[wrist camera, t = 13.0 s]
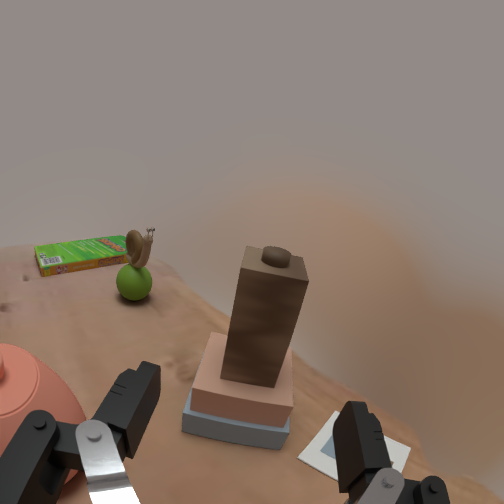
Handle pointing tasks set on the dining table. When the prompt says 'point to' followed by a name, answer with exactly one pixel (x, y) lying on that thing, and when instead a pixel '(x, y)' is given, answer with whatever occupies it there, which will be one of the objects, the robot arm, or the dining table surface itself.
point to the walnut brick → (263, 315)
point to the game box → (80, 255)
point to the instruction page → (323, 451)
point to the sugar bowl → (32, 393)
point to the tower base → (232, 430)
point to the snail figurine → (136, 267)
